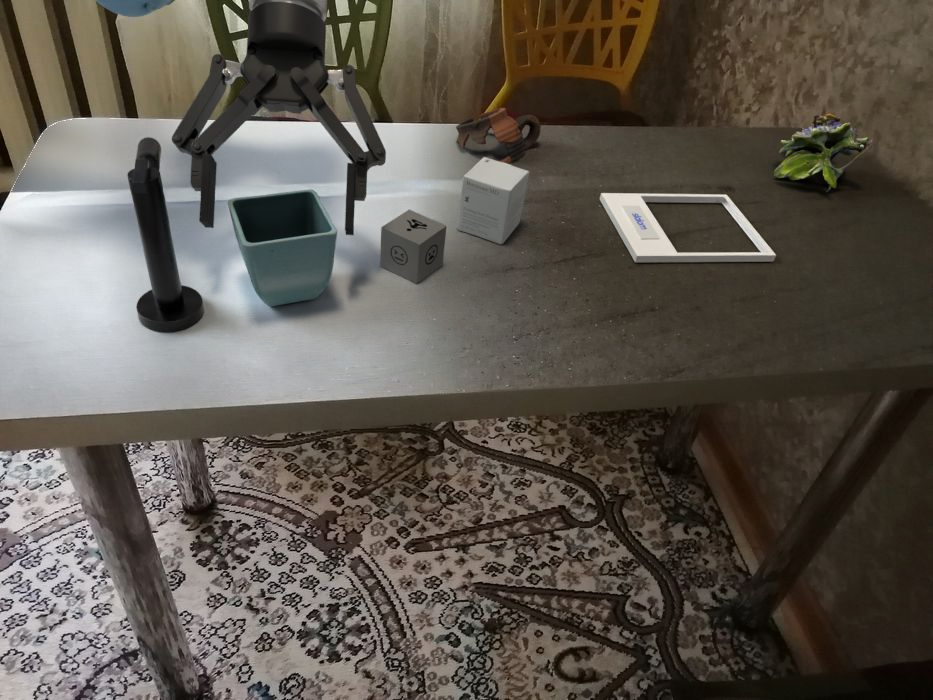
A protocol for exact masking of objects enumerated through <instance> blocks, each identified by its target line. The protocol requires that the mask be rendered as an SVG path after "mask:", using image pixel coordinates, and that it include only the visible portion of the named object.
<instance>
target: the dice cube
mask: <svg viewBox="0 0 933 700" xmlns="http://www.w3.org/2000/svg"><path fill="white" fill-rule="evenodd" d="M446 234H447V225H446V224H444V223H442V222H439V221H437V220H434V219H432V218H430V217H428V216H425V215H423V214H421V213H418V212H416V211H414V210H412V209H407V210H406V211H405V212H402V214H400V215H398V216H397V217H395V218H394V219H392V220H390V221H389V222H387V223H386V224H383V225H382V226H381V227H380V254H379V256H380V257H379V267H380V268H383V269H385V270H387V271H389V272H392V273H393V274H395V275H397V276H400V277H402V278H404V279H406V280H408V281H410V282H412V283H414V284H416V285H417V284H418V283H420V282H421V281H422V280H424V279H425V278H426V277H428V276H430V275H431V274H432V273H433V272H434V271H435V270H437V269H438V268H440V267H441V266H442V265H443V264H444V258H445V257H444V255H445V247H446Z"/></svg>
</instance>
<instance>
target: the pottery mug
mask: <svg viewBox="0 0 933 700" xmlns="http://www.w3.org/2000/svg"><path fill="white" fill-rule="evenodd" d="M526 126H528V127H529V130H528V133H527V135H526V136H525V137H524V136H523V135H524V134H523V129H525V127H526ZM541 127H542V126H541V123H540V120H539V119H538V118H537V117H536V116H535V115H532V114H525V115H521V116H518V117H512V116H509V115H508V112H507V108H505V107H499V108H496V109H492V110H489V111H486V112H483V113H481V114H479V119H476V120H474V118H473V117H470V118H467V119H466V120H464V121H461V122H460V123H458V124H457V125H456V126H455V129H456V131H457V133H458V134H457V137H456V141H455V142H456V143H457V144H458V145H460V147H461V149H462V150H464V149H465V148H466V144H467V141H468V139H469V138H470V139H471V140H473V141H474V142H476V144H478V145H486V144H487V141H486V140H487V139H486V138H487V137H488V136H487V135H488V133H489V131H490V130H492V131H493V134H494V138H495V140H497V142H499V144H504V146H505V149H506V151H507V156H506V157H505V158H503V159H500V160H498V161H499V162H503V163H507V164H510V165H512V164H514V163H515V164H516V163H517V162H520V160H521V159H523V157H524V156H525V155H526V151H527V150H528V149H530V148H531V147H533V146H534V144H535V143H536V142H537V141H538V139H539V137H540V135H541Z"/></svg>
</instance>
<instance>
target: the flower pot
mask: <svg viewBox="0 0 933 700" xmlns="http://www.w3.org/2000/svg"><path fill="white" fill-rule="evenodd" d="M226 201H227V206H228V209H229V210H228V211H229V213H230V219H231V222H232V226H233V227H232V228H233V230H234V235H235V239H236V242H237V245H238V248H239V251H240V254H241V256H242V260H243V263H244V265H245V268H246V270H247V273H248V276H249V279H250V282H251V285H252V287H253V290H254V292H255V293H256V295H257V296H258V297H259V299H260V300H261V301H262V302H263V303H264V304H265V305H266V306H268V307H275V306H282V305H287V304H294V303H300V302H305V301H311V300H315V299H318V297H319V296H320V295H321V294H322V292H323V291H324V290H325V288H326V287H327V285H328V283H329V281H330V279H331V277H332V273H333V268H334V264H335V263H334V261H335V255H336V245H337V236H338V230H337V227H336V226H335V224H334V222H333V220H332V218H331V217H330V215H329V213H328V212H327V210H326V208H325V205H324V204H323V203H322V200H321V198H320V196H319V195H318V192H317V191H316V190H315V189H300V190H292V191H284V192H276V193H269V194H260V195H250V196H241V197H233V198H230V199H228V200H226Z"/></svg>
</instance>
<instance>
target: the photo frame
mask: <svg viewBox="0 0 933 700" xmlns="http://www.w3.org/2000/svg"><path fill="white" fill-rule="evenodd" d="M599 201H600V203H601V205H602V207H603V208H604V210H605V212H606V214H607V215H608V218H609V219H610V220H611V223H612V224H613V226H614V228H615V229H616V232H617V233H618V235H619V236H620V239H621V240H622V242H623V244H624V245H625V247H626V249H627V250H628V252H629V254H630V256H631V258H632V260H633V261H634V263H744V262H745V263H750V262H752V263H755V262H756V263H765V262H770V263H773V262H774V261H775V259H776V257H777V254H776V253H775V252H774V250H773V249H772V248H771V247H770V245H768V243H767V242H766V240H764V238H763V237H762V236H761V235H760V233H759V232H758V231H757V230H756V229H755V227H754V226H753V225H752V223H750V221H749V220H748V218H747V217H746V216H745V215H744V214H743V212H742V211H741V210H740V209H739V208H738V207H737V206H736V204H735V203H734V201H733V200H732V199H731V198H730V196H728V195H727V194H713V193H712V194H711V193H710V194H709V193H708V194H706V193H705V194H704V193H634V192H633V193H630V192H629V193H625V192H624V193H623V192H617V193H616V192H601V193H600V196H599ZM646 203H677V204H678V203H684V204H686V203H687V204H688V203H689V204H692V203H693V204H694V203H695V204H699V203H700V204H722V205H723V207H724V208H725V209H726V210H727V211H728V213H729V214H730V215H731V217H732V218H733V219H734V221H735V222H736V223H737V224H738V225H739V227H740V228H741V229H742V231H743V232H744V234H746V235H747V237H748V238H749V239H750V240H751V241H752V243H753V244H754V245H755V247H756V248H757V249H758V251H757V252H756V251H753V252H751V251H750V252H748V251H747V252H742V251H741V252H737V251H736V252H731V251H729V252H718V251H717V252H678V251H677V250H676V248H675V247H674V245H673V244H672V242H671V240H670V239H669V237H668V236H667V234H666V233H665V231H664V230H663V228H662V226H661V225H660V223H659V222H658V220H657V219H656V217H655V216H654V215H653V213H652V211H651V210H650V208H649V207H648V205H647V204H646Z"/></svg>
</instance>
